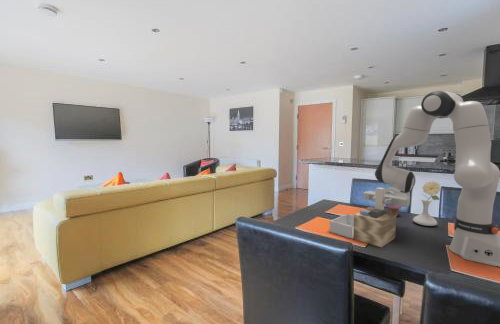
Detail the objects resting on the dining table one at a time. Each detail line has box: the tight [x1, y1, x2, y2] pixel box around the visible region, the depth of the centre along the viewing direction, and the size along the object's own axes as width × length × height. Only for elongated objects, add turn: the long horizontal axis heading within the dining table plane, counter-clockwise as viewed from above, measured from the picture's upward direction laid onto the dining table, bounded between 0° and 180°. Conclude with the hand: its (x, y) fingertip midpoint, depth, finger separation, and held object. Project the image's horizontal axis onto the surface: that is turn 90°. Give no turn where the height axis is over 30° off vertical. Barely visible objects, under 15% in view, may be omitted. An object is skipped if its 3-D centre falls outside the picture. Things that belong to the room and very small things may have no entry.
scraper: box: [370, 186, 388, 218], centre depth 120 cm, size 3×13×12 cm, turn 131°
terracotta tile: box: [365, 206, 375, 211], centre depth 127 cm, size 4×4×2 cm
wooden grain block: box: [352, 211, 397, 248], centre depth 123 cm, size 13×16×12 cm
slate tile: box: [359, 208, 370, 216], centre depth 122 cm, size 4×4×2 cm
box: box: [329, 213, 354, 240], centre depth 133 cm, size 12×18×6 cm, turn 131°
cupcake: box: [384, 204, 403, 217], centre depth 160 cm, size 9×9×10 cm
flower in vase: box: [412, 180, 442, 227], centre depth 142 cm, size 13×11×25 cm
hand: (379, 200), depth 120 cm, fingers closed on scraper, 3 cm apart
